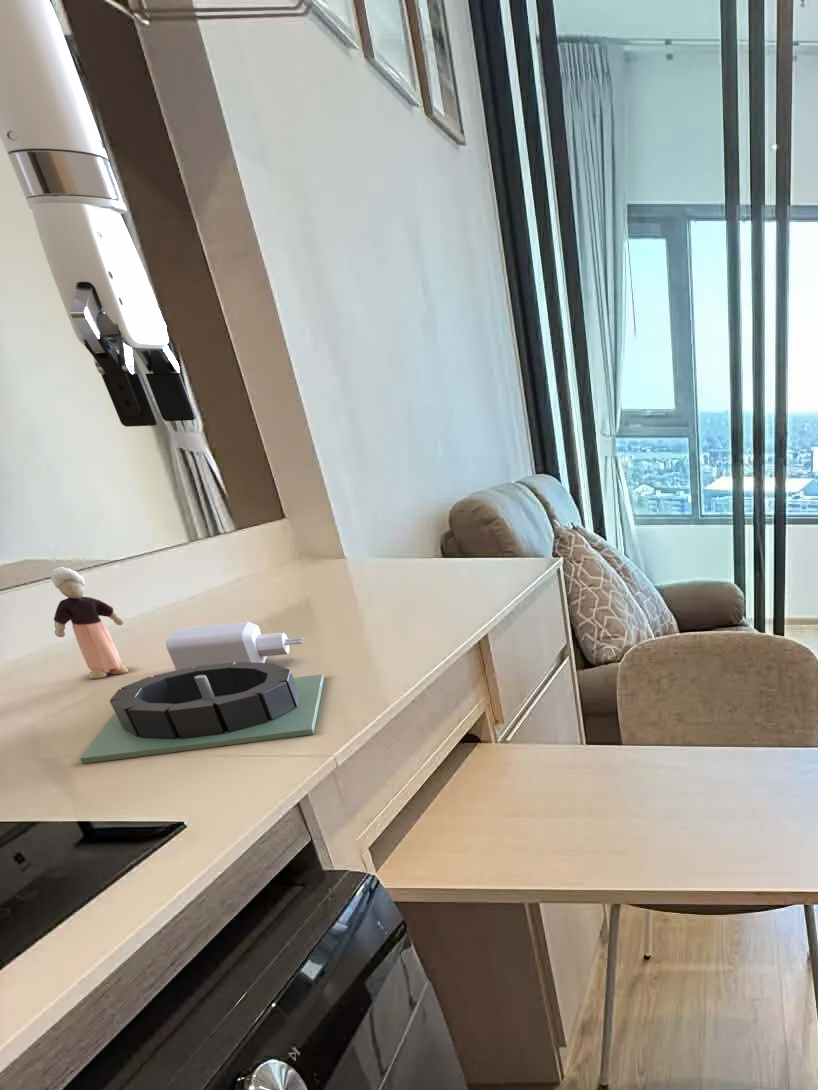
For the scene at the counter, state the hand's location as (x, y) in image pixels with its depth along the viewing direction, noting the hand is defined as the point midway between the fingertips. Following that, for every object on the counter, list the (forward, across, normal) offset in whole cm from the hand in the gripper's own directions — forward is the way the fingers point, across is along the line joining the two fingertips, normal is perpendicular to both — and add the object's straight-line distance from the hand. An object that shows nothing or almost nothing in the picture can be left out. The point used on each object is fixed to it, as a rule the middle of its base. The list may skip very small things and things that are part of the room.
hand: (161, 423), depth 86 cm
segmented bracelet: (+27, +7, -4) cm, 28 cm away
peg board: (+27, +7, -4) cm, 28 cm away
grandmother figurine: (+27, -16, -24) cm, 40 cm away
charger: (+27, -15, -7) cm, 32 cm away
